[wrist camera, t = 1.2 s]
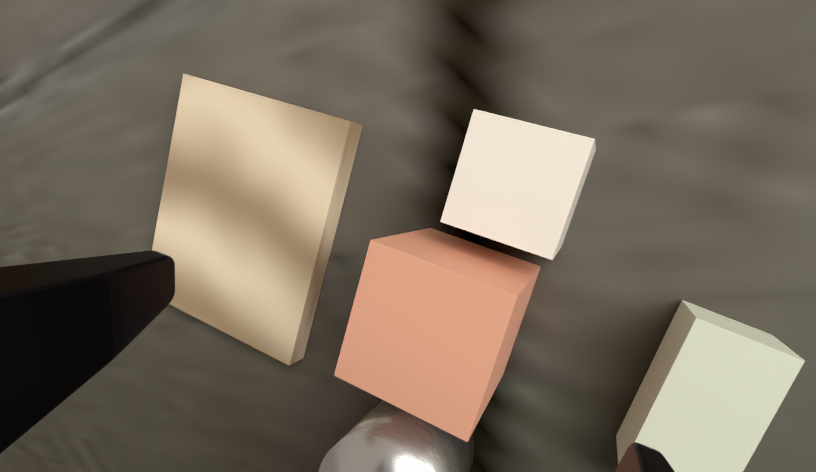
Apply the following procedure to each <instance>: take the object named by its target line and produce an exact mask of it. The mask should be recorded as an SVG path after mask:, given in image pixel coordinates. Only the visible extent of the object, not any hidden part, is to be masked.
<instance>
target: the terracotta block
mask: <svg viewBox="0 0 816 472" xmlns="http://www.w3.org/2000/svg"><path fill="white" fill-rule="evenodd" d="M540 267H541V266H538V265H535V264H532V263H529V262H527V261H524V260H521V259H518V258H515V257H512V256H509V255H507V254H504V253H501V252H498V251H495V250H492V249H489V248H487V247H484V246H481V245H478V244H475V243H472V242H469V241H467V240H464V239H461V238H458V237H455V236H452V235H449V234H447V233H444V232H441V231H438V230H435V229H432V228H427V229H422V230H417V231H412V232H407V233H402V234H398V235H393V236H388V237H383V238H378V239H373V240H370V244H369V248H368V251H367V255H366V259H365V262H364V266H363V270H362V274H361V277H360V281H359V285H358V288H357V292H356V296H355V299H354V303H353V307H352V311H351V314H350V318H349V322H348V325H347V329H346V333H345V336H344V340H343V344H342V347H341V351H340V355H339V359H338V362H337V366H336V370H335V373H334V376H336V377H338V378H340V379H342V380H344V381H346V382H348V383H350V384H352V385H354V386H356V387H358V388H360V389H362V390H364V391H366V392H368V393H370V394H372V395H374V396H376V397H378V398H380V399H382V400H384V401H386V402H388V403H390V404H392V405H394V406H396V407H398V408H400V409H402V410H404V411H406V412H408V413H410V414H412V415H414V416H416V417H418V418H420V419H422V420H424V421H426V422H428V423H430V424H432V425H434V426H436V427H438V428H440V429H442V430H444V431H446V432H448V433H450V434H452V435H454V436H456V437H458V438H460V439H462V440H464V441H466V442H468V441H469V439H470V437H471V435H472V433H473V431H474V429H475V427H476V425H477V423H478V421H479V420H480V418H481V416H482V414H483V412H484V410H485V408H486V406H487V404H488V402H489V401H490V399H491V397H492V395H493V393H494V391H495V389H496V387H497V385H498V383H499V381H500V380H501V378H502V376H503V373H504V370H505V368H506V365H507V362H508V359H509V356H510V353H511V350H512V348H513V345H514V342H515V339H516V336H517V333H518V330H519V327H520V325H521V322H522V319H523V316H524V313H525V310H526V307H527V305H528V302H529V299H530V296H531V293H532V290H533V287H534V284H535V282H536V279H537V276H538V273H539V270H540Z"/></svg>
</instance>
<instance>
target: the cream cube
mask: <svg viewBox="0 0 816 472" xmlns="http://www.w3.org/2000/svg"><path fill="white" fill-rule="evenodd" d="M595 151H596V148H595V139H593V138H589V137H585V136H581V135H577V134H572V133H568V132H564V131H560V130H556V129H552V128H548V127H544V126H540V125H536V124H532V123H528V122H524V121H520V120H516V119H512V118H508V117H504V116H500V115H496V114H492V113H488V112H484V111H480V110H476V109H474V110H473V113H472V117H471V120H470V124H469V127H468V130H467V134H466V137H465V140H464V144H463V147H462V150H461V154H460V157H459V161H458V164H457V167H456V171H455V174H454V177H453V181H452V184H451V187H450V191H449V194H448V197H447V201H446V204H445V208H444V211H443V214H442V218H441V221H440V222H442V223H445V224H448V225H451V226H454V227H457V228H460V229H463V230H466V231H469V232H471V233H474V234H477V235H480V236H483V237H486V238H489V239H492V240H495V241H498V242H501V243H504V244H507V245H509V246H512V247H515V248H518V249H521V250H524V251H527V252H530V253H533V254H536V255H539V256H542V257H545V258H547V259H550V260H553V258H554V257H555V256H556V254H557V253H558V251H559V250H560V249H561V247H562V244H563V241H564V238H565V235H566V233H567V230H568V227H569V224H570V221H571V218H572V216H573V213H574V210H575V207H576V204H577V201H578V199H579V196H580V193H581V190H582V187H583V185H584V182H585V179H586V176H587V173H588V170H589V168H590V165H591V162H592V159H593V156H594V153H595Z"/></svg>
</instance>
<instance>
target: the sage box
mask: <svg viewBox="0 0 816 472" xmlns="http://www.w3.org/2000/svg"><path fill="white" fill-rule="evenodd" d="M804 362H805V361H804V360H803V359H802V358H801V357H799V356H798V355H797V354H796V353H794V352H793V351H792V350H791V349H789V348H788V347H787V346H786V345H784V344H783V343H782V342H781V341H779V340H778V339H777V338H775V337H774V336H773V335H771V334H768V333H766V332H763V331H761V330H758V329H755V328H753V327H750V326H748V325H745V324H743V323H740V322H737V321H735V320H732V319H730V318H727V317H725V316H722V315H719V314H717V313H714V312H712V311H709V310H707V309H704V308H701V307H699V306H696V305H694V304H691V303H689V302H686V301H683V300H682V301H681V303H680V305H679V307H678V309H677V311H676V313H675V315H674V317H673V319H672V321H671V324H670V326H669V328H668V330H667V332H666V334H665V336H664V338H663V340H662V342H661V344H660V346H659V348H658V350H657V352H656V354H655V357H654V359H653V361H652V363H651V365H650V367H649V369H648V371H647V373H646V375H645V377H644V379H643V381H642V383H641V385H640V387H639V389H638V392H637V394H636V396H635V398H634V400H633V402H632V404H631V406H630V408H629V410H628V412H627V414H626V416H625V418H624V420H623V422H622V425H621V427H620V429H619V431H618V433H617V435H616V440H617V454H618V464H619V462H620V461H621V459H622V457H623V455H624V453H625V452H626V450H627V448H628V447H629V446H630V445H631V444H632V443H635V442H637V443H640V444H643V445H645V446H648V447H650V448H653V449H655V450H657V451H659V452H661V453H662V455H663V456H664V457H665V458H666V460H667V461H668V463H669V464H670V465H671V467H672V468H673V470H674V471H675V472H743V471H744V469H745V467H746V465H747V464H748V462H749V460H750V458H751V456H752V455H753V453H754V451H755V449H756V447H757V446H758V444H759V442H760V440H761V439H762V437H763V435H764V433H765V431H766V430H767V428H768V426H769V424H770V422H771V421H772V419H773V417H774V415H775V414H776V412H777V410H778V408H779V406H780V405H781V403H782V401H783V399H784V397H785V396H786V394H787V392H788V390H789V389H790V387H791V385H792V383H793V381H794V380H795V378H796V376H797V374H798V372H799V371H800V369H801V367H802V365H803V364H804Z"/></svg>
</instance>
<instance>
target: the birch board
mask: <svg viewBox="0 0 816 472" xmlns="http://www.w3.org/2000/svg"><path fill="white" fill-rule="evenodd" d="M362 128H363V125H361V124H358V123H355V122H351V121H348V120H344V119H341V118H337V117H334V116H330V115H327V114H323V113H320V112H316V111H313V110H309V109H306V108H302V107H299V106H295V105H292V104H288V103H285V102H281V101H278V100H274V99H271V98H267V97H264V96H260V95H257V94H253V93H250V92H246V91H243V90H239V89H236V88H232V87H229V86H225V85H222V84H218V83H215V82H211V81H208V80H204V79H201V78H197V77H194V76H190V75H187V74H183V80H182V85H181V91H180V96H179V102H178V107H177V113H176V119H175V124H174V130H173V135H172V141H171V147H170V152H169V158H168V163H167V169H166V175H165V180H164V186H163V191H162V197H161V203H160V208H159V214H158V219H157V225H156V230H155V236H154V242H153V247H152V251H158V252H160V253H163V254H165V255H168V256H170V257H171V258H173V260H174V262H175V295H174V297H173V299H172V301H171V302H170V303H169V304H170V305H172V306H174V307H176V308H178V309H180V310H182V311H184V312H185V313H187V314H189V315H191V316H193V317H195V318H197V319H199V320H201V321H203V322H205V323H207V324H209V325H211V326H213V327H215V328H217V329H219V330H221V331H222V332H224V333H226V334H228V335H230V336H232V337H234V338H236V339H238V340H240V341H242V342H244V343H246V344H248V345H250V346H252V347H254V348H256V349H258V350H259V351H261V352H263V353H265V354H267V355H269V356H271V357H273V358H275V359H277V360H279V361H281V362H283V363H285V364H287V365H289V366H290V365H292V364H293V363H295V362H297V361H299V360H301V359H302V358H304V354H305V350H306V346H307V342H308V339H309V335H310V331H311V327H312V323H313V319H314V315H315V311H316V307H317V303H318V300H319V296H320V292H321V288H322V284H323V280H324V276H325V272H326V268H327V264H328V261H329V257H330V253H331V249H332V245H333V241H334V237H335V233H336V229H337V225H338V222H339V218H340V214H341V210H342V206H343V202H344V198H345V194H346V190H347V186H348V183H349V179H350V175H351V171H352V167H353V163H354V159H355V155H356V151H357V147H358V144H359V140H360V136H361V132H362Z"/></svg>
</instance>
